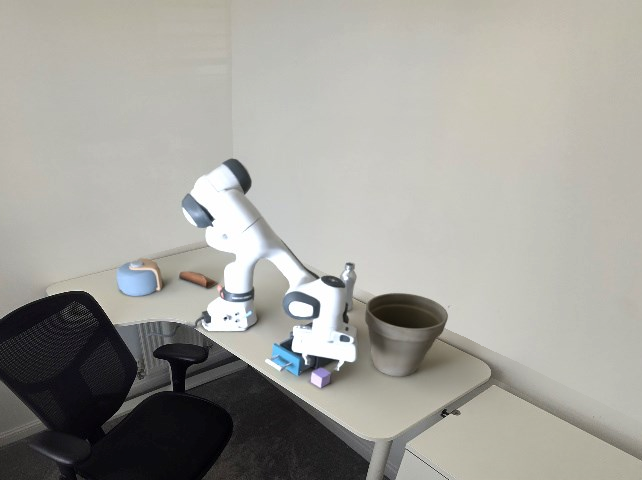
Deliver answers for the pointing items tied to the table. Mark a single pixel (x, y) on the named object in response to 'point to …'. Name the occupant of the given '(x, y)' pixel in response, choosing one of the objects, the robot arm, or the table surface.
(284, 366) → the blue drawer
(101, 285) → the table surface
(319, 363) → the drawer cabinet
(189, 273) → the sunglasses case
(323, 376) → the purple cube
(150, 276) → the blue kettle
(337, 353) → the robot arm
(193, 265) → the table surface
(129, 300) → the table surface
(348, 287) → the silver metal bottle
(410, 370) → the flower pot
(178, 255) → the table surface
